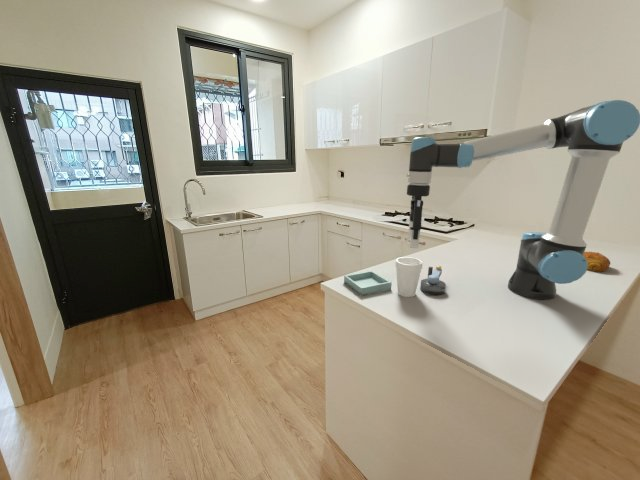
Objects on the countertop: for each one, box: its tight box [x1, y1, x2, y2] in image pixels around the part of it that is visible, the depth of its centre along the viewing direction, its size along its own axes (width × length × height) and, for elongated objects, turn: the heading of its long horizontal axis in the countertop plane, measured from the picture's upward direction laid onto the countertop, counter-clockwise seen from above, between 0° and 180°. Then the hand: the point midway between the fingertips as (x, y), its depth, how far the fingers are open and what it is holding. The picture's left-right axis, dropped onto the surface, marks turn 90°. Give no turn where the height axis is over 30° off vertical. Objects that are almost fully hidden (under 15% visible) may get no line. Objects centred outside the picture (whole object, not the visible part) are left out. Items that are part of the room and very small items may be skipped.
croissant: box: [583, 251, 611, 273], centre depth 139 cm, size 14×16×8 cm
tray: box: [343, 270, 392, 297], centre depth 119 cm, size 14×14×3 cm
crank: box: [427, 265, 443, 284], centre depth 117 cm, size 13×4×3 cm, turn 149°
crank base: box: [420, 266, 446, 296], centre depth 115 cm, size 12×10×6 cm
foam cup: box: [395, 256, 423, 298], centre depth 111 cm, size 10×9×13 cm
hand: (412, 242), depth 108 cm, fingers open, 13 cm apart
